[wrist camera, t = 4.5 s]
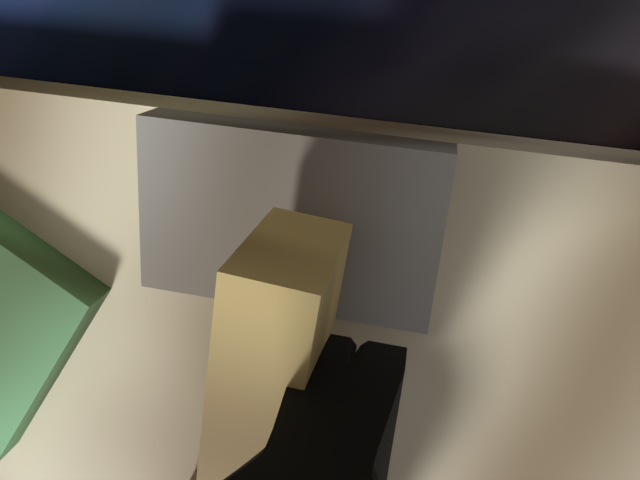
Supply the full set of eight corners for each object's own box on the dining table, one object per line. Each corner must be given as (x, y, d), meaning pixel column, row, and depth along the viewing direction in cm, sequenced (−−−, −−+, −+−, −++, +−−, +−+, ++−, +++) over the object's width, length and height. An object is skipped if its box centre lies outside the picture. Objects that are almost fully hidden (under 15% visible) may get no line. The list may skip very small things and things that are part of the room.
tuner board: (734, 161, 10) (799, 197, 8) (575, 625, 14) (594, 718, 12) (-118, 62, 12) (-217, 71, 11) (-42, 481, 16) (-104, 540, 15)
